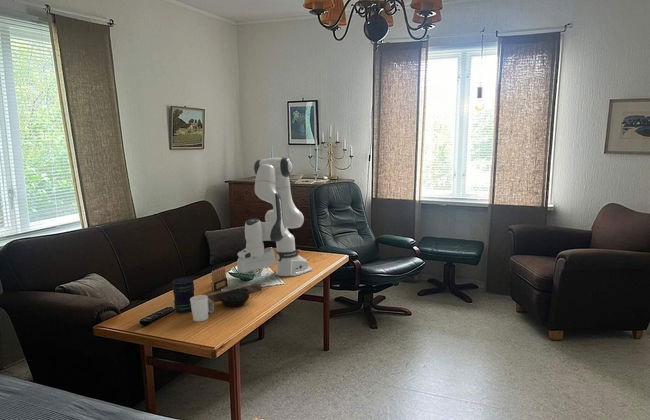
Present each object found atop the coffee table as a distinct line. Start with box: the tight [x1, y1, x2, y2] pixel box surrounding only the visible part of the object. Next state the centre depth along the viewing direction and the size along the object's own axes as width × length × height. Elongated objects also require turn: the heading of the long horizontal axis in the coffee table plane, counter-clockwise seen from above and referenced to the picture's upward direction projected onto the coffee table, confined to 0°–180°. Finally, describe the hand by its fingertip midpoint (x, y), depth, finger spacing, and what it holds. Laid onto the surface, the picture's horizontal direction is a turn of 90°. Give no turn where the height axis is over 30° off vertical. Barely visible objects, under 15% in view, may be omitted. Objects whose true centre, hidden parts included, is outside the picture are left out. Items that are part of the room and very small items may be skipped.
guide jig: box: [205, 281, 263, 314], centre depth 225 cm, size 34×15×5 cm, turn 125°
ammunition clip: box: [211, 265, 229, 293], centre depth 243 cm, size 11×2×12 cm, turn 150°
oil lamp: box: [219, 287, 250, 307], centre depth 222 cm, size 15×20×5 cm
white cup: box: [190, 294, 209, 322], centre depth 202 cm, size 8×8×10 cm
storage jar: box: [172, 276, 195, 315], centre depth 214 cm, size 10×10×15 cm
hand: (258, 276), depth 227 cm, fingers closed
